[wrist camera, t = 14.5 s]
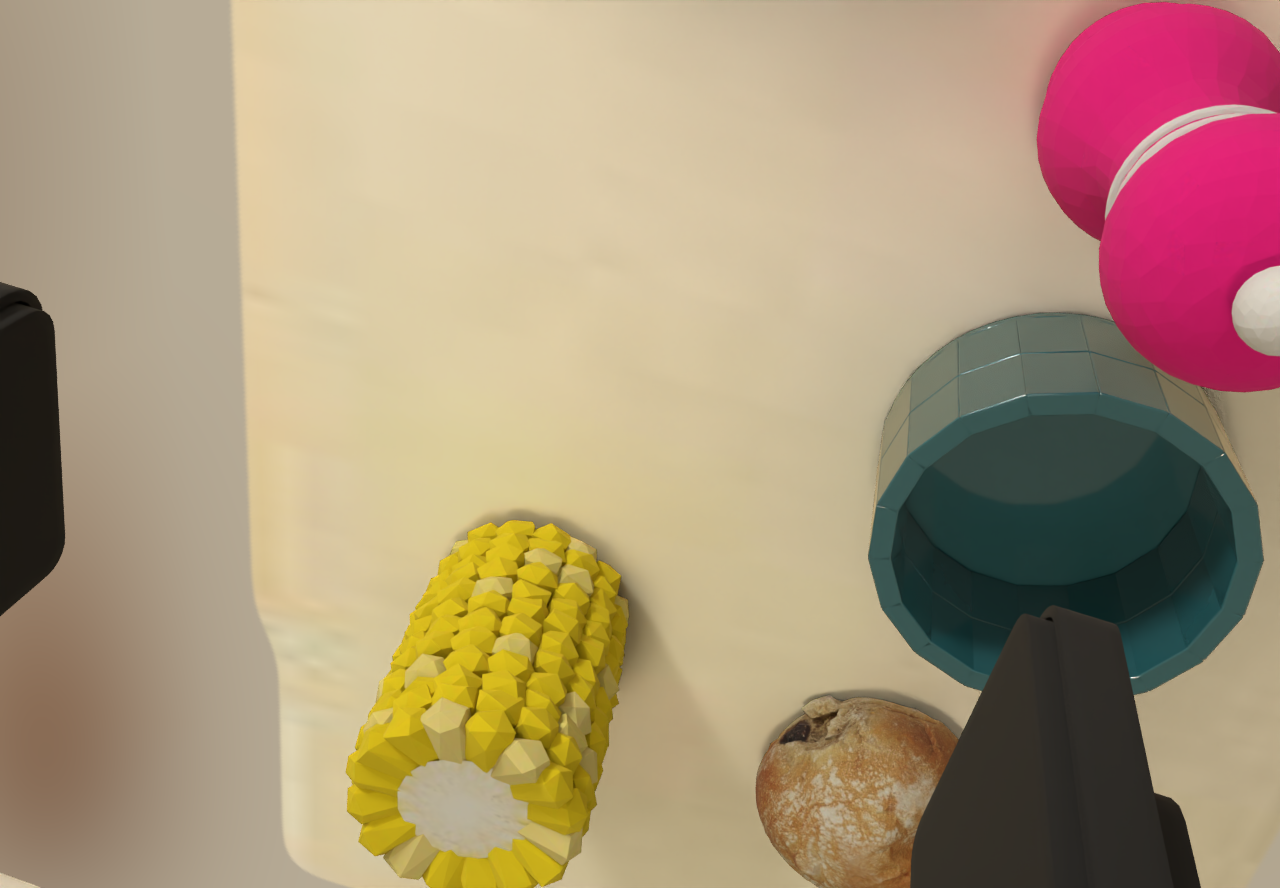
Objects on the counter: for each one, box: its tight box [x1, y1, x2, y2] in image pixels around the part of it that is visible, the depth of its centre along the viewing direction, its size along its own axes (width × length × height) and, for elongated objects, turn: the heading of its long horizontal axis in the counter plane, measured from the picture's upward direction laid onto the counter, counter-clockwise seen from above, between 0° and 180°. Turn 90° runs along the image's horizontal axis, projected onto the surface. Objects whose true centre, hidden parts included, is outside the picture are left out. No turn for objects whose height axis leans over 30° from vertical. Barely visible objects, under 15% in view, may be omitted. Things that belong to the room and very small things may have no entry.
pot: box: [868, 313, 1264, 695], centre depth 43 cm, size 13×13×7 cm
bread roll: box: [756, 695, 959, 888], centre depth 54 cm, size 10×10×8 cm
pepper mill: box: [1037, 2, 1280, 392], centre depth 31 cm, size 7×7×20 cm
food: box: [346, 520, 629, 888], centre depth 49 cm, size 15×12×10 cm
